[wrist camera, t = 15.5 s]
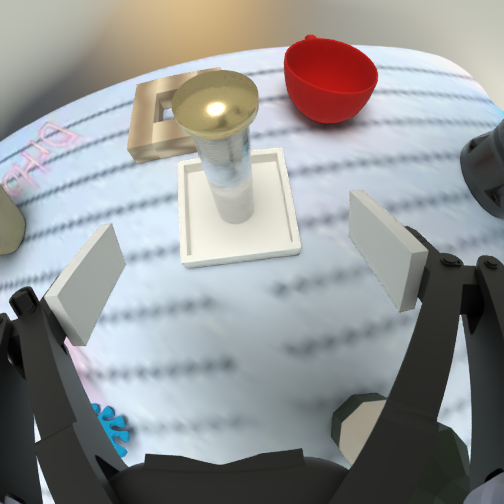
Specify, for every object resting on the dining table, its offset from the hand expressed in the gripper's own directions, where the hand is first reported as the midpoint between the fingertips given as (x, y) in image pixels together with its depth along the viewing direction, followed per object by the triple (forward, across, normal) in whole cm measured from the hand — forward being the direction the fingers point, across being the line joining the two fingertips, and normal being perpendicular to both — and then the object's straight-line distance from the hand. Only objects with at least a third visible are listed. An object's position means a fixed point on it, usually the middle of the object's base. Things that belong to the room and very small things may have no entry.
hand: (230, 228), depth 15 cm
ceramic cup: (+34, +14, +5) cm, 37 cm away
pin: (+20, -1, -7) cm, 21 cm away
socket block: (+33, -8, +5) cm, 34 cm away
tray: (+21, -1, -7) cm, 22 cm away
